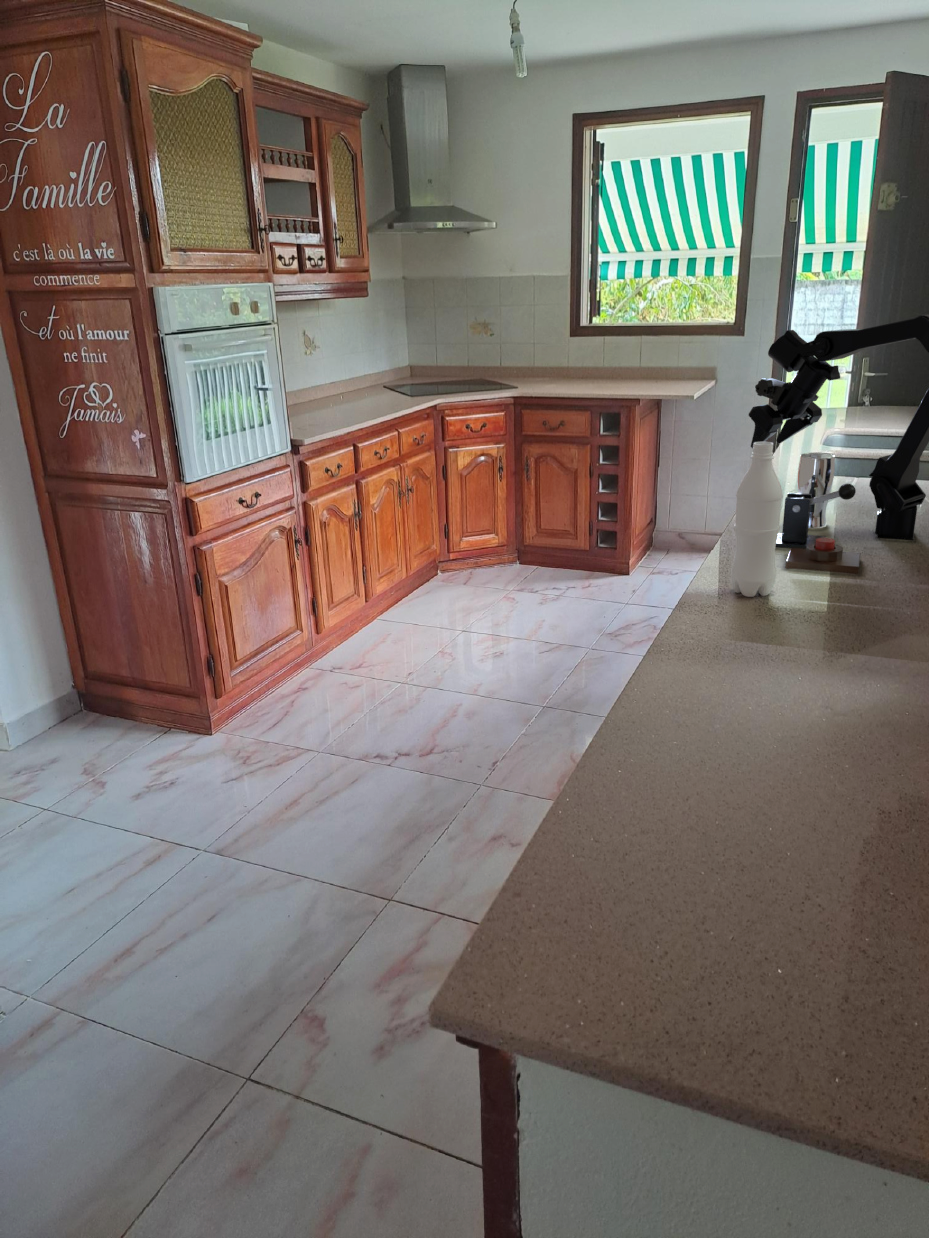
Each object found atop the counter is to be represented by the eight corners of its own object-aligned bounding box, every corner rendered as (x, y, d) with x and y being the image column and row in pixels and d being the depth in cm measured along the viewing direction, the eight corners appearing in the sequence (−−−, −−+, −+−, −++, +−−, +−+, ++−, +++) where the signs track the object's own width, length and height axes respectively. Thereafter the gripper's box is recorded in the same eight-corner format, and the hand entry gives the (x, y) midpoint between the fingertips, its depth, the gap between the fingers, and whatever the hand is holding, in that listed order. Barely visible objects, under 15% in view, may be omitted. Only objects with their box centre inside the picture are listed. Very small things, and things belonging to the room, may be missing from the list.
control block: (859, 561, 161) (861, 543, 160) (858, 576, 153) (860, 556, 152) (790, 556, 166) (791, 538, 165) (785, 570, 158) (787, 551, 157)
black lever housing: (825, 541, 174) (830, 492, 170) (822, 552, 167) (828, 502, 164) (767, 537, 178) (771, 490, 175) (762, 548, 171) (766, 499, 168)
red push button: (834, 547, 159) (835, 538, 159) (833, 552, 157) (834, 542, 156) (815, 546, 161) (816, 537, 160) (814, 551, 158) (815, 541, 157)
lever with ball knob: (857, 495, 166) (853, 480, 166) (857, 498, 164) (852, 483, 163) (793, 512, 172) (788, 498, 171) (791, 516, 170) (787, 501, 169)
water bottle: (776, 600, 144) (790, 447, 135) (731, 598, 145) (741, 447, 137) (771, 586, 150) (784, 439, 142) (728, 585, 152) (737, 439, 143)
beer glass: (823, 522, 187) (830, 451, 182) (832, 530, 181) (840, 458, 176) (789, 522, 188) (795, 452, 183) (797, 531, 182) (804, 458, 176)
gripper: (804, 359, 191) (765, 417, 202) (751, 366, 181) (714, 427, 192) (841, 390, 186) (800, 448, 197) (788, 399, 176) (748, 460, 187)
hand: (765, 445), depth 193 cm, fingers open, 9 cm apart
